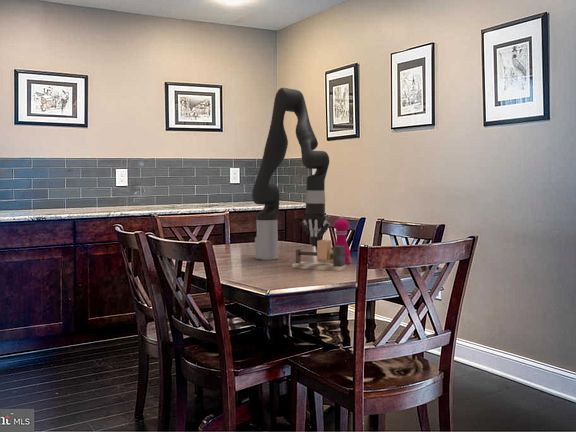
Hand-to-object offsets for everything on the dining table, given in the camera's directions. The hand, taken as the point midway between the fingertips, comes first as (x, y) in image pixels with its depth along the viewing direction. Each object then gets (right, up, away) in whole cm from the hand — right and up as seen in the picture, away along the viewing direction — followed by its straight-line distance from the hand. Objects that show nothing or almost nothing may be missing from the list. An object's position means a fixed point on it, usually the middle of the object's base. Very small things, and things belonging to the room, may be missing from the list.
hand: (315, 246), depth 223 cm
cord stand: (+2, -9, 0) cm, 9 cm away
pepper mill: (+12, -8, +12) cm, 18 cm away
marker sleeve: (+4, -5, -1) cm, 7 cm away
